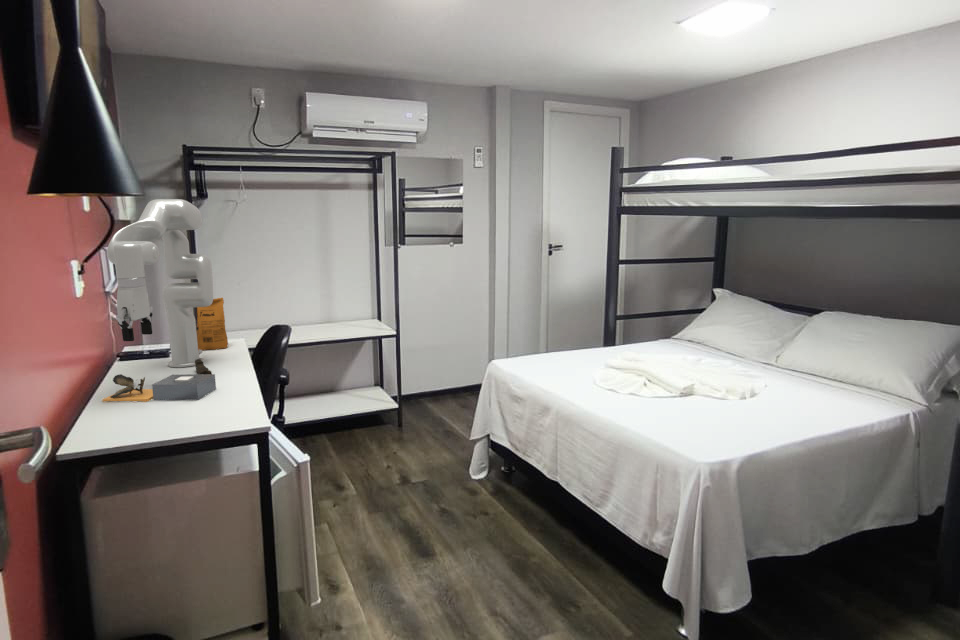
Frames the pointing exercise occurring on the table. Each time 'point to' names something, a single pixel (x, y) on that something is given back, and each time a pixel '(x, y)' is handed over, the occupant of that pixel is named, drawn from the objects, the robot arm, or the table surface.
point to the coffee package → (211, 326)
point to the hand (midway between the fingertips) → (138, 337)
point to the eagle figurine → (127, 384)
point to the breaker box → (184, 387)
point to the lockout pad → (132, 396)
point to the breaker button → (184, 378)
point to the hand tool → (201, 367)
